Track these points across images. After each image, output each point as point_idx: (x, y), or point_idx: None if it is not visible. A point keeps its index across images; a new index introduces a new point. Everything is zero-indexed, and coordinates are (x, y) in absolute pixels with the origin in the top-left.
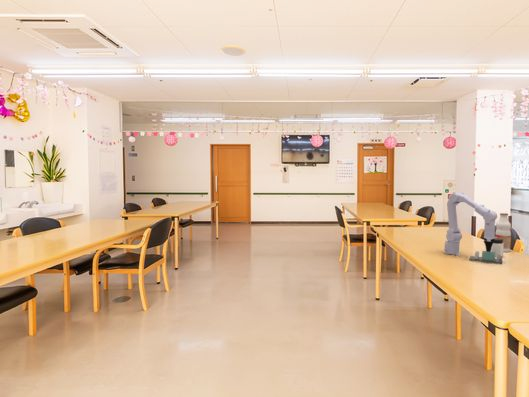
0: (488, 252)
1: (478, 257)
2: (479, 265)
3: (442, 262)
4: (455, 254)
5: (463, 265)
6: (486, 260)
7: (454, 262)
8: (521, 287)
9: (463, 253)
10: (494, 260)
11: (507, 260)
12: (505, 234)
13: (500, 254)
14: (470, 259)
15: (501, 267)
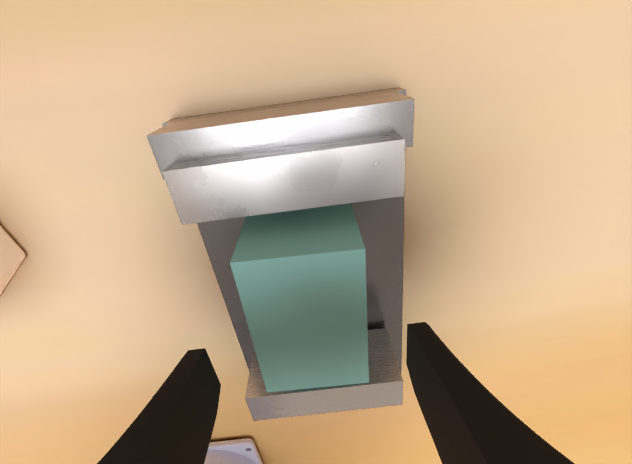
0: (351, 327)
1: (378, 342)
2: (575, 273)
3: (561, 444)
4: (257, 454)
5: (618, 355)
6: (380, 263)
7: (530, 407)
8: None
9: None
10: None
11: (64, 54)
12: None
13: (184, 170)
14: (400, 365)
15: (606, 64)
